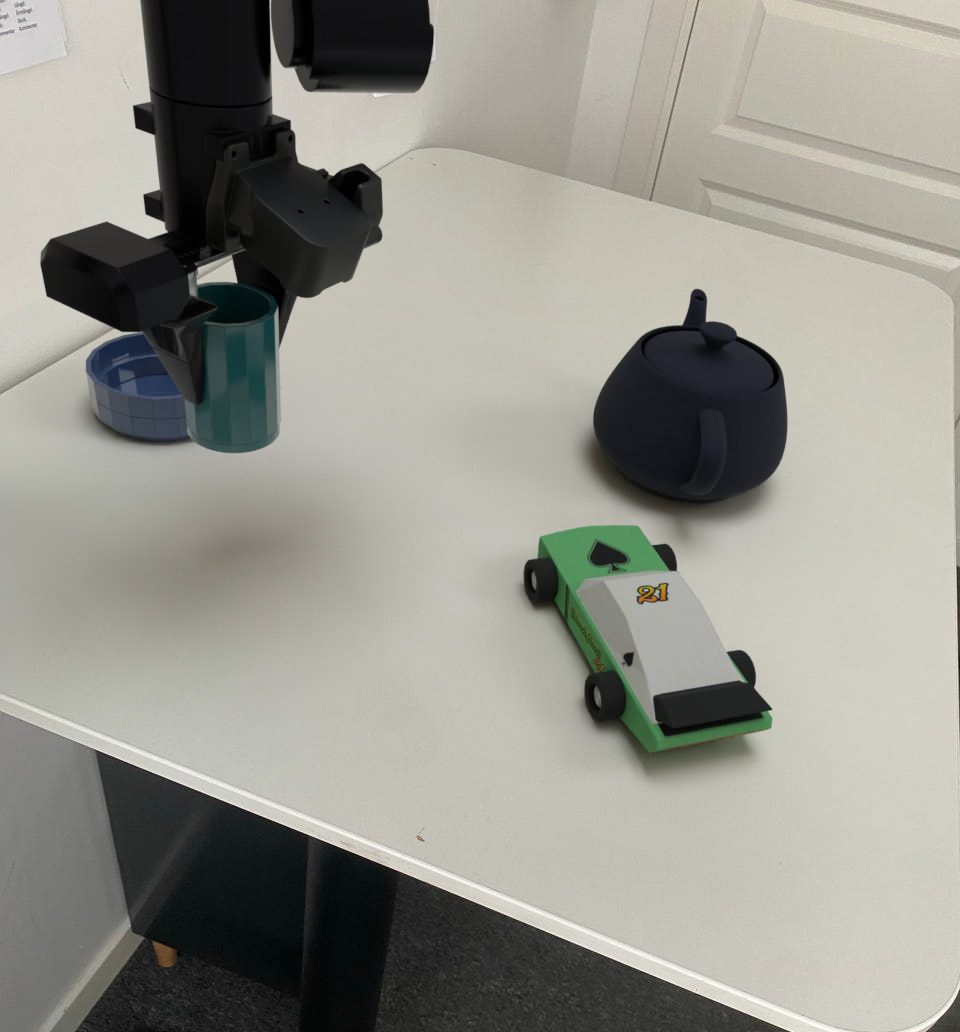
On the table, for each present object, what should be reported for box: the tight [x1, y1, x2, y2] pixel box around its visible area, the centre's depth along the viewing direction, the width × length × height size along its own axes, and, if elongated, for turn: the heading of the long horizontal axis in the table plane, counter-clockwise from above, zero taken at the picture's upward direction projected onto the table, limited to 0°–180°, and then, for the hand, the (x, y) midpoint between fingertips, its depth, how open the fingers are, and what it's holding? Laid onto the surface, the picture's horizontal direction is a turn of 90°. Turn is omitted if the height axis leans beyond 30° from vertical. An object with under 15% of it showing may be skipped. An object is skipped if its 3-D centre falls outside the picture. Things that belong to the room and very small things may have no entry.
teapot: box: [592, 288, 789, 503], centre depth 75 cm, size 25×16×12 cm, turn 174°
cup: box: [183, 281, 282, 454], centre depth 55 cm, size 6×6×8 cm
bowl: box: [85, 332, 191, 442], centre depth 74 cm, size 11×11×4 cm
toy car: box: [523, 524, 773, 754], centre depth 60 cm, size 10×19×5 cm, turn 18°
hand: (230, 383), depth 56 cm, fingers closed on cup, 6 cm apart
